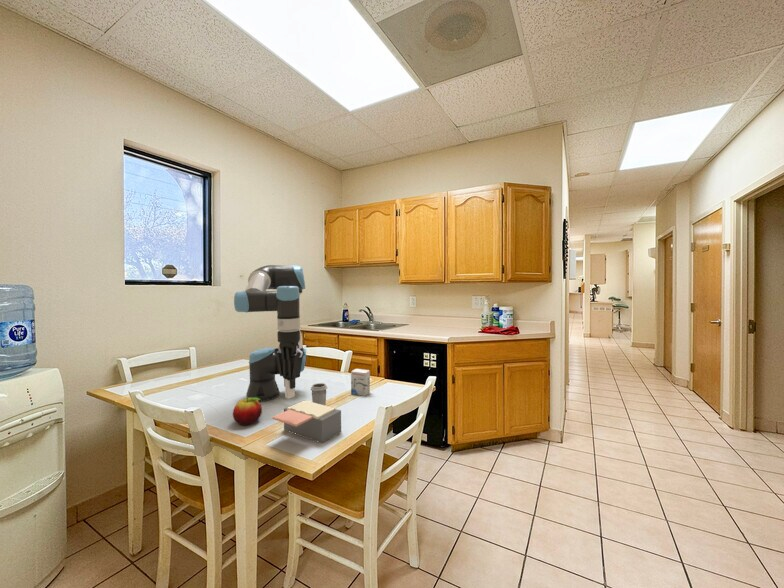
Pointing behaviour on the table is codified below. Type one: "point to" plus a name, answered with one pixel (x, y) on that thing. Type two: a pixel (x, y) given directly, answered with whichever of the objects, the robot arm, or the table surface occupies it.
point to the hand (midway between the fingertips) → (290, 396)
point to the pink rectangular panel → (292, 418)
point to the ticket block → (316, 421)
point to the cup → (319, 393)
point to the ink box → (360, 382)
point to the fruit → (247, 411)
